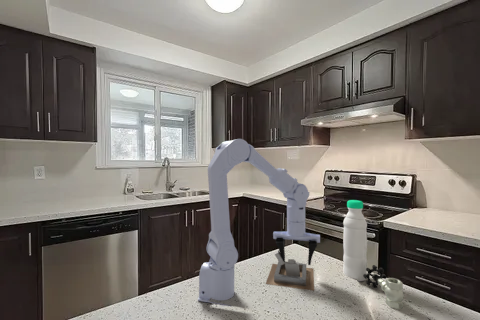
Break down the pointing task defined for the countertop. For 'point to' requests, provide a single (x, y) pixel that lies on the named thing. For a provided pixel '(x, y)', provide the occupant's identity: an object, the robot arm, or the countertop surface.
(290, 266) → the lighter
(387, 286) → the valve
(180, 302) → the countertop surface
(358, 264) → the water bottle
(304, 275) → the steel collar
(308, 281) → the walnut board
